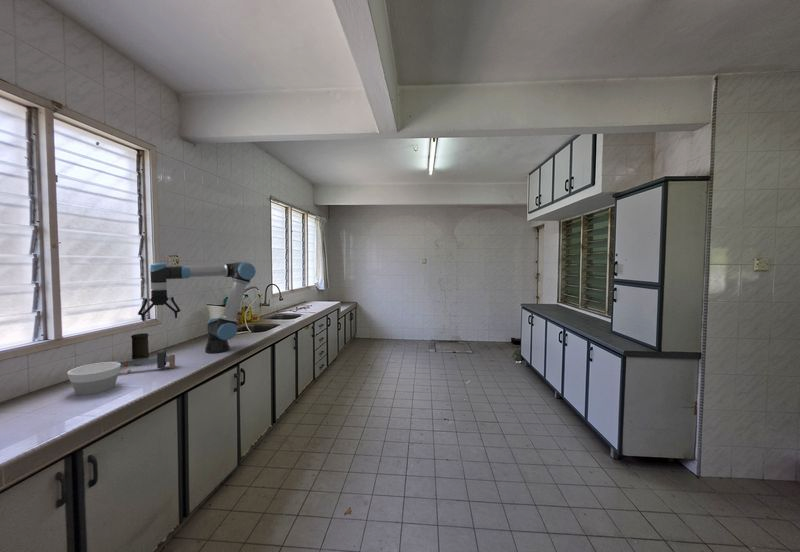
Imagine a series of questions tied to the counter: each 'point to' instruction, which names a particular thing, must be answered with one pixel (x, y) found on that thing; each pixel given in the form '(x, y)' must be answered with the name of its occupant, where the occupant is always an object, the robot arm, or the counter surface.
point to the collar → (161, 358)
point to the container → (140, 346)
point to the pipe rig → (146, 362)
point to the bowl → (94, 377)
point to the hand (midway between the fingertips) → (160, 325)
